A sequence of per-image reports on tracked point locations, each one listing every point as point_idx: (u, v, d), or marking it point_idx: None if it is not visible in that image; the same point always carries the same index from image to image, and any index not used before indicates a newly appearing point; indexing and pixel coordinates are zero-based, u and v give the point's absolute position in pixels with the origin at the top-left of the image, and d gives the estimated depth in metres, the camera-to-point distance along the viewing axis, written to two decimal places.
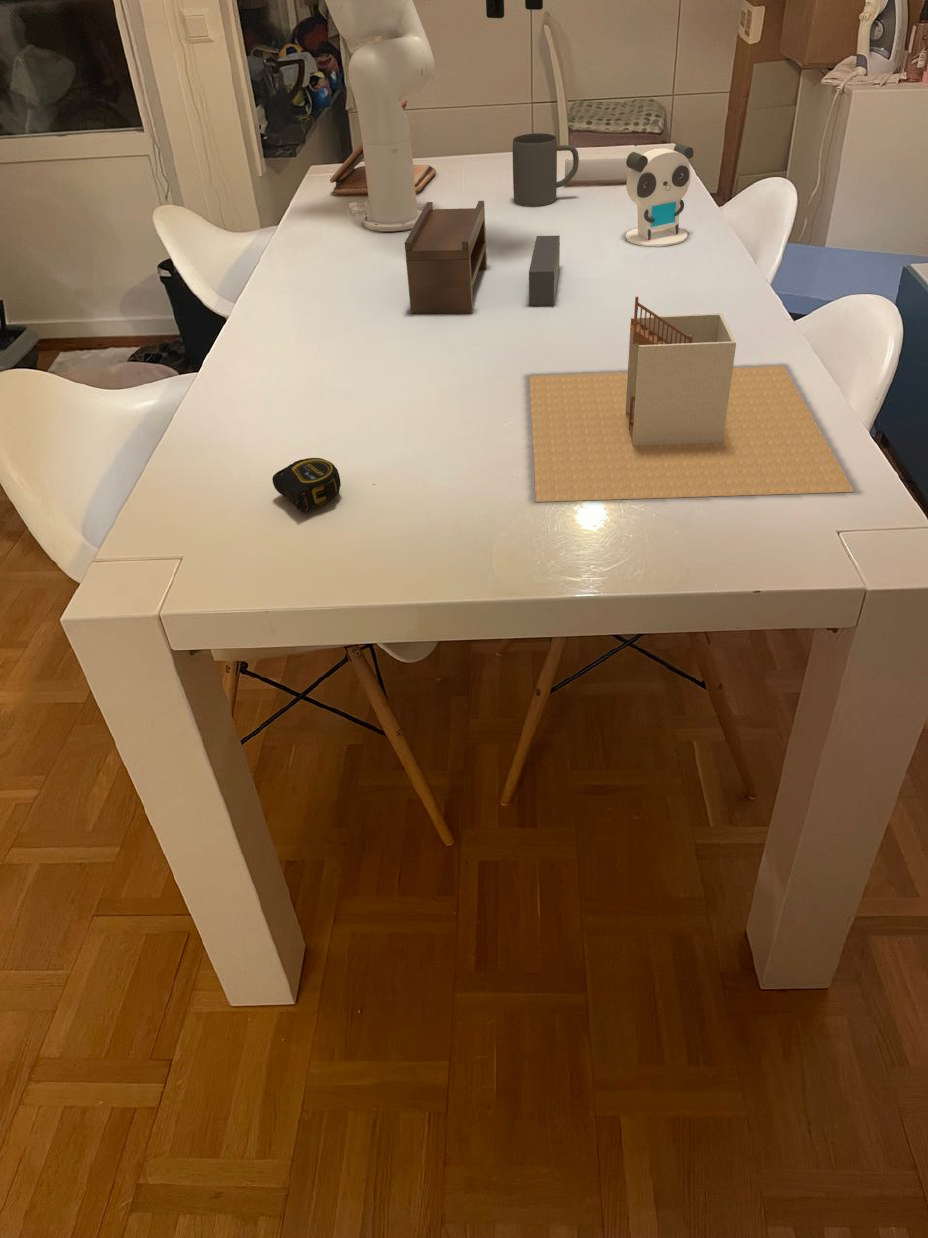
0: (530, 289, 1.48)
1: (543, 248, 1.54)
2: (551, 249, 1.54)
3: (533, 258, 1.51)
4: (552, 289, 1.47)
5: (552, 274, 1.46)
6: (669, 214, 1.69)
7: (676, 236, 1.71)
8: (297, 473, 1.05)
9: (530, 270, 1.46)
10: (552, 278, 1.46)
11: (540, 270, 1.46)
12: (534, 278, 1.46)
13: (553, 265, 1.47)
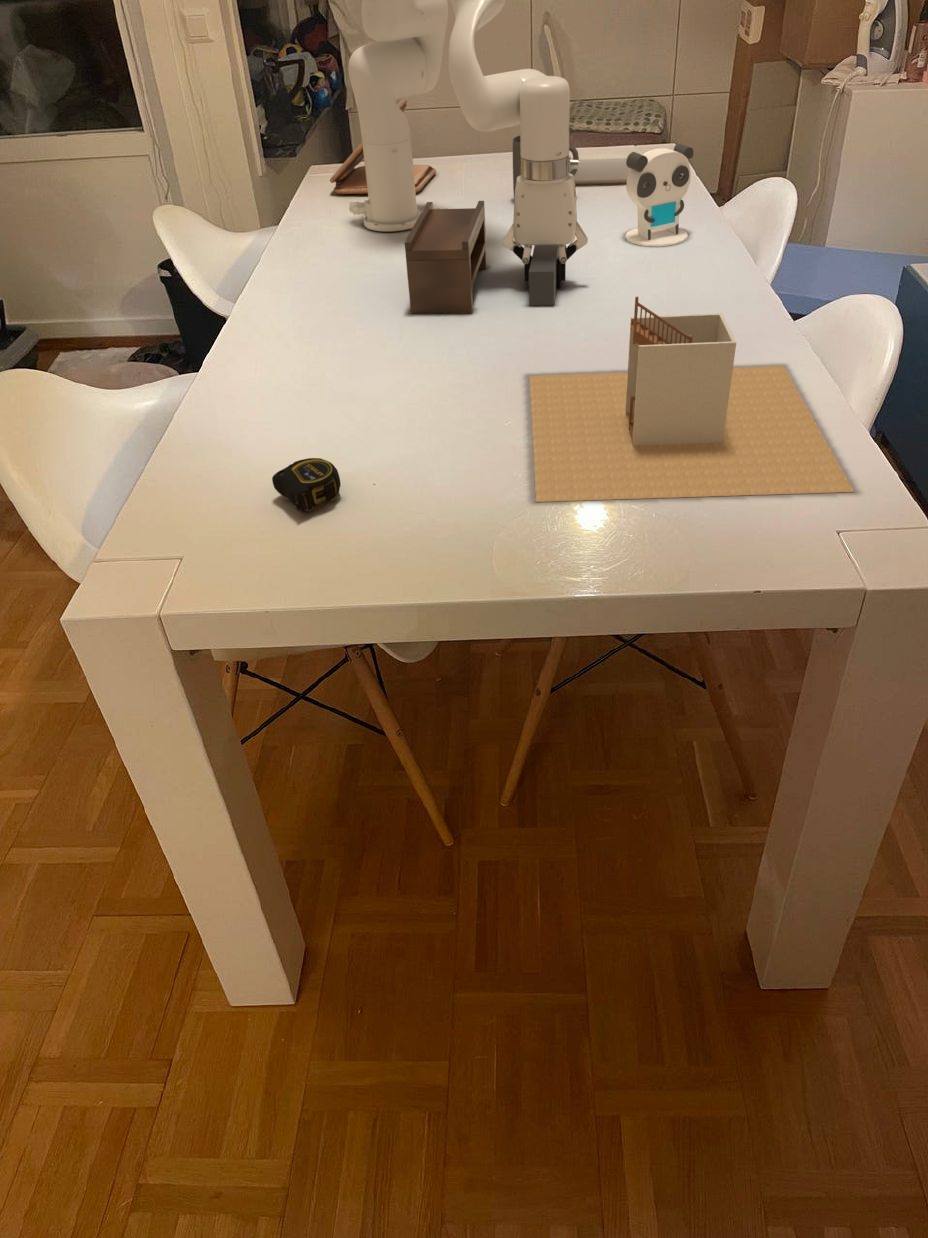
0: (530, 289, 1.48)
1: (543, 248, 1.54)
2: (551, 249, 1.54)
3: (533, 258, 1.51)
4: (552, 289, 1.47)
5: (552, 274, 1.46)
6: (669, 214, 1.69)
7: (676, 236, 1.71)
8: (297, 473, 1.04)
9: (530, 270, 1.46)
10: (552, 278, 1.46)
11: (540, 270, 1.46)
12: (534, 278, 1.46)
13: (553, 265, 1.47)
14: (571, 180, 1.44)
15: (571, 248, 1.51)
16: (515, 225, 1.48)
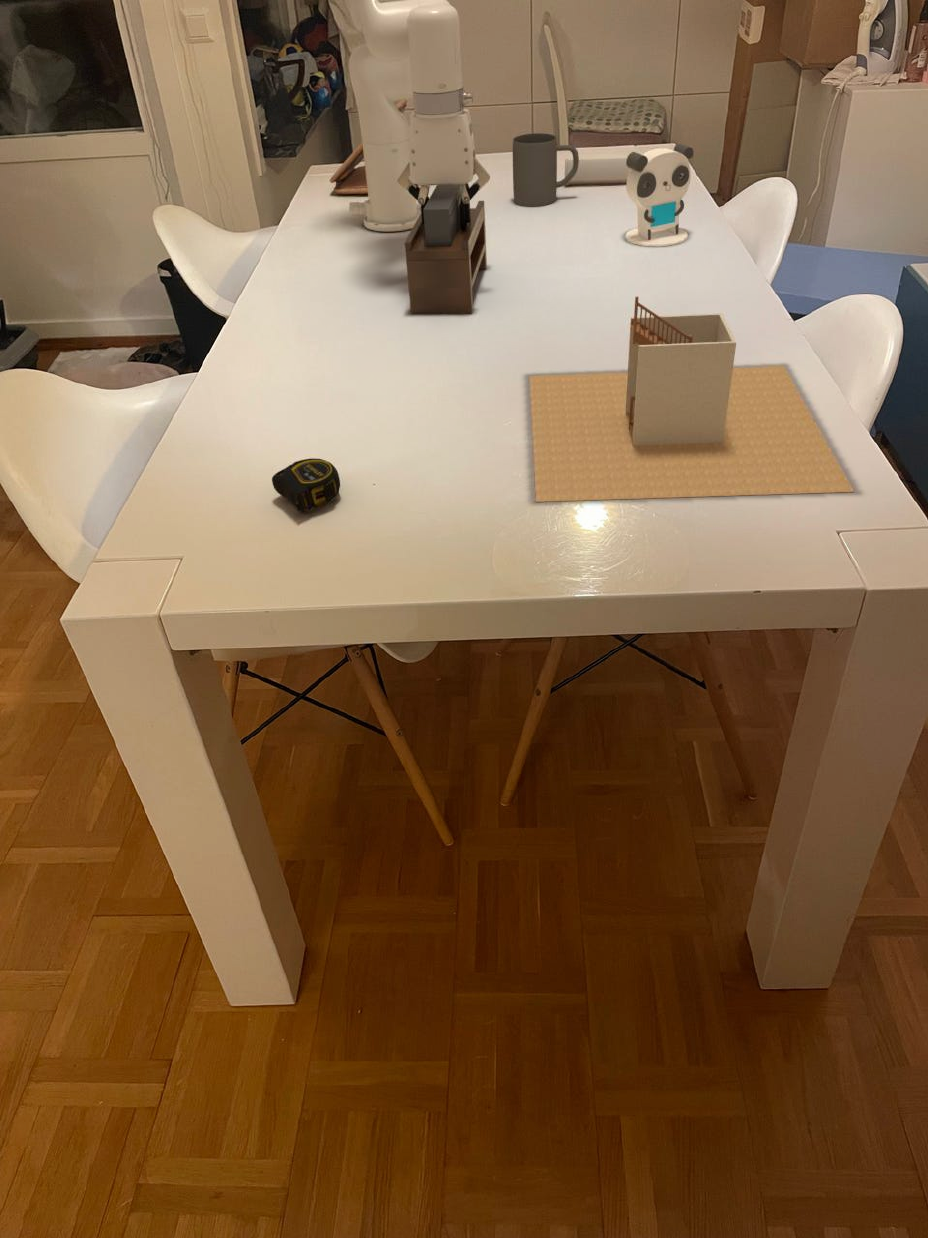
0: (426, 228, 1.43)
1: (443, 189, 1.49)
2: (452, 189, 1.49)
3: (431, 197, 1.46)
4: (448, 228, 1.42)
5: (447, 212, 1.41)
6: (669, 214, 1.69)
7: (676, 236, 1.71)
8: (297, 474, 1.04)
9: (425, 208, 1.41)
10: (447, 216, 1.41)
11: (435, 208, 1.41)
12: (429, 217, 1.41)
13: (449, 203, 1.42)
14: (465, 115, 1.39)
15: (473, 187, 1.46)
16: (411, 163, 1.44)
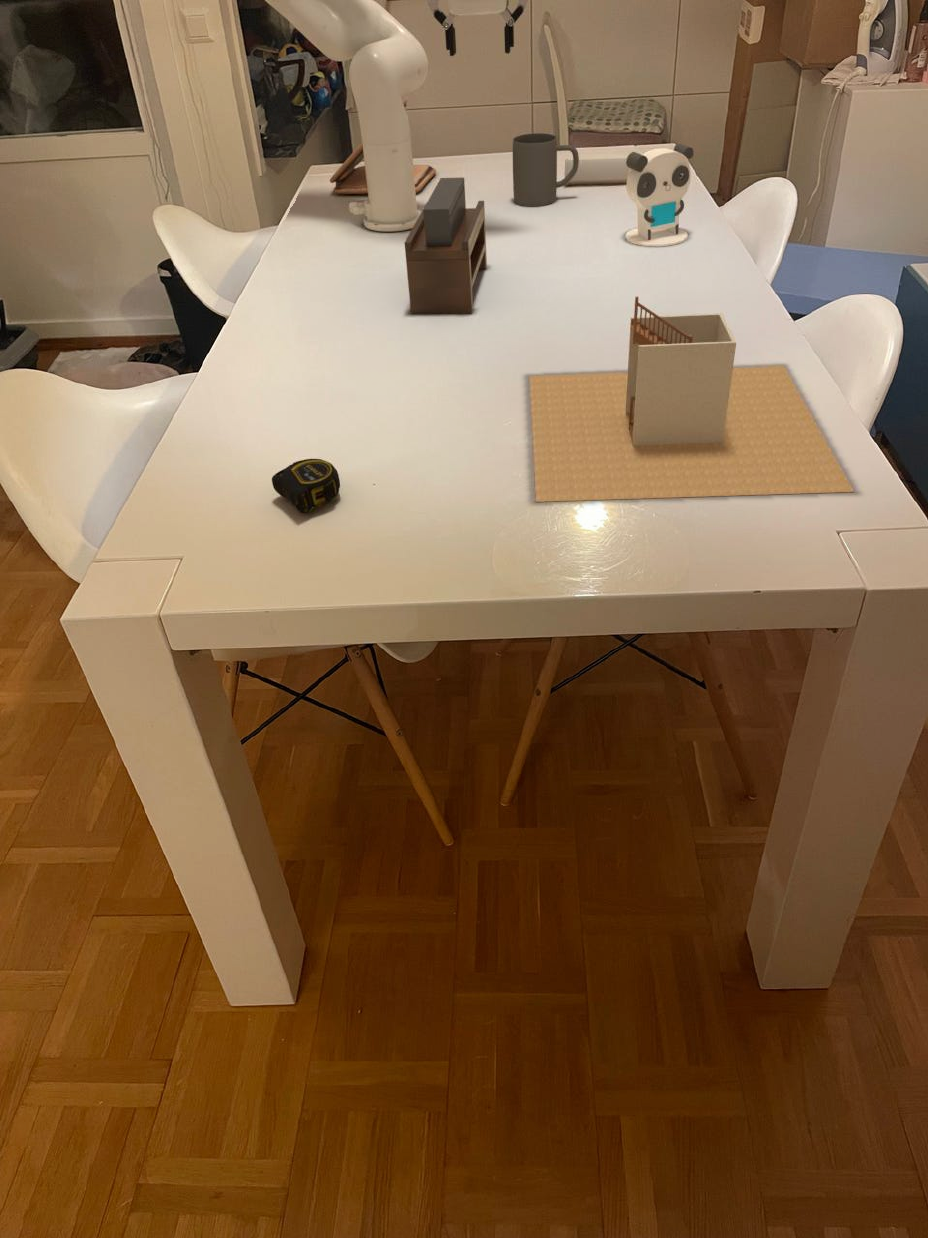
0: (426, 228, 1.43)
1: (443, 189, 1.49)
2: (452, 189, 1.49)
3: (431, 197, 1.46)
4: (448, 228, 1.42)
5: (447, 212, 1.41)
6: (669, 214, 1.69)
7: (676, 236, 1.71)
8: (296, 474, 1.04)
9: (425, 208, 1.41)
10: (447, 216, 1.41)
11: (435, 208, 1.41)
12: (429, 217, 1.41)
13: (449, 203, 1.42)
14: None
15: (518, 9, 1.55)
16: None
